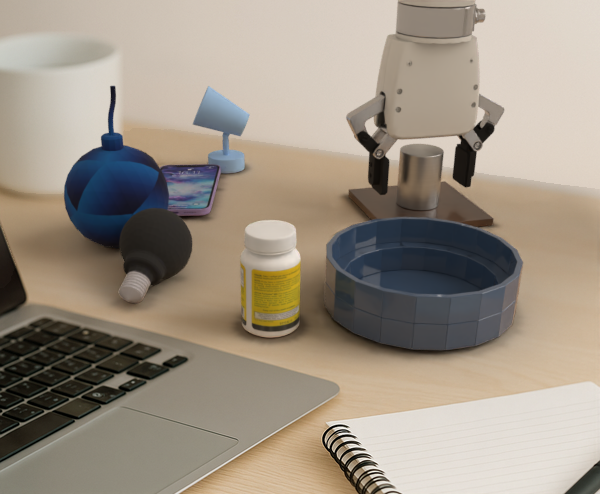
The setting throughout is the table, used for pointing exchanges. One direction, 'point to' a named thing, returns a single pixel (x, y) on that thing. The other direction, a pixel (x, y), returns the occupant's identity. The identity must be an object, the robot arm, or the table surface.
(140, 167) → the bomb
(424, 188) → the tin
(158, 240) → the light bulb
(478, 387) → the table surface
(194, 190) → the smartphone
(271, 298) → the supplement bottle
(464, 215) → the mat
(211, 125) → the spotlight
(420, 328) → the bowl
